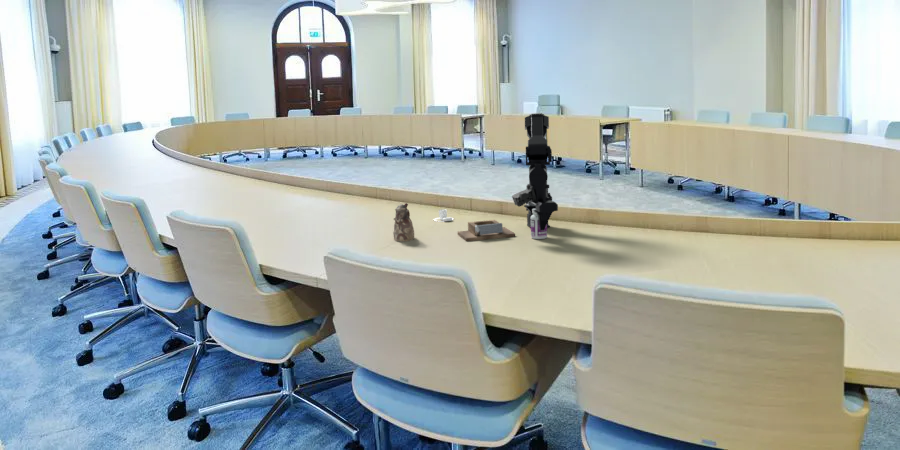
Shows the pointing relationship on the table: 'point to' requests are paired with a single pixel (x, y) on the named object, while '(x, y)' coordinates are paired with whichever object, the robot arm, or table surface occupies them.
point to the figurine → (403, 224)
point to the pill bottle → (537, 227)
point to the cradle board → (471, 235)
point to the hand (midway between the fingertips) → (538, 228)
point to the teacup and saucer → (443, 216)
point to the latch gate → (488, 229)
